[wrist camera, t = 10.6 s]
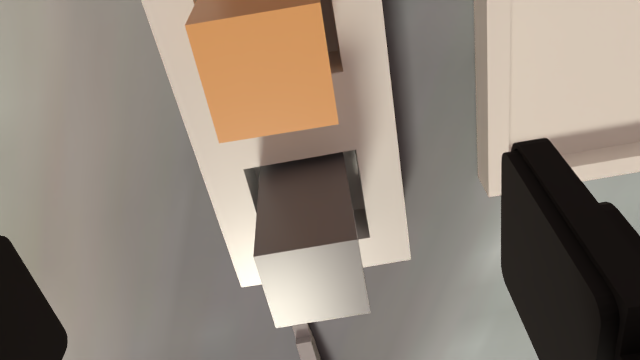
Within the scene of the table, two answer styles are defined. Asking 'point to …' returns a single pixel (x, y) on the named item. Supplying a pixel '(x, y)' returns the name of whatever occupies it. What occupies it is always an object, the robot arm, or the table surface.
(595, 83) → the tray
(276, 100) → the orange rectangular block
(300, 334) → the caliper
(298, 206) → the grey rectangular block
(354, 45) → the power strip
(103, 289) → the table surface
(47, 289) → the table surface
